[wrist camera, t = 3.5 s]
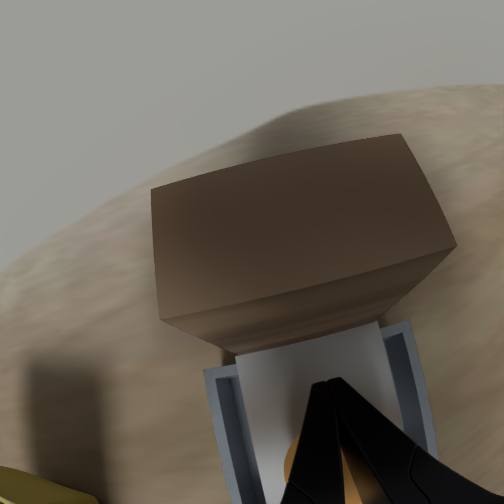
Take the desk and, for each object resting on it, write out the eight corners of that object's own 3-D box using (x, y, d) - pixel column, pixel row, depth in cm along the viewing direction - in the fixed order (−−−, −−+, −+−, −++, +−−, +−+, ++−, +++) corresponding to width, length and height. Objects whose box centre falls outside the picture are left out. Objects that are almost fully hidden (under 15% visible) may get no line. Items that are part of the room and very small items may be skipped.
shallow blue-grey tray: (418, 480, 13) (443, 500, 10) (255, 521, 14) (244, 550, 10) (387, 331, 17) (408, 319, 14) (222, 372, 18) (202, 369, 14)
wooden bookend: (386, 459, 14) (509, 554, 2) (276, 486, 15) (232, 634, 3) (345, 287, 19) (407, 132, 7) (240, 312, 19) (143, 191, 7)
